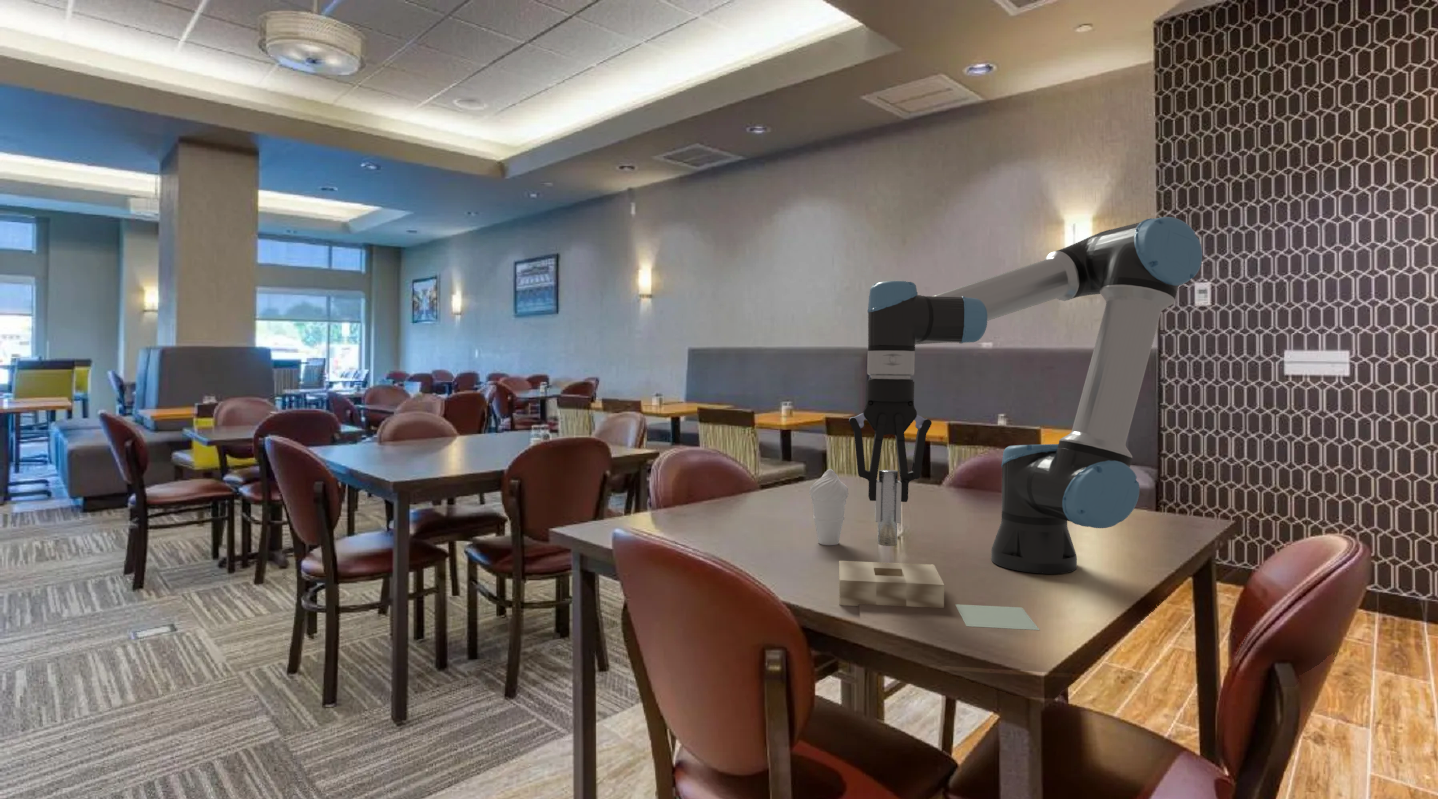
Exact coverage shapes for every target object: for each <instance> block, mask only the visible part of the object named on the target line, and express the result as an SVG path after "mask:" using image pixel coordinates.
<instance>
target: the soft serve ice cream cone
mask: <svg viewBox="0 0 1438 799" xmlns="http://www.w3.org/2000/svg"><path fill="white" fill-rule="evenodd" d="M808 493H809V496H810V498H811V504H812V510H813V511H812V512H813V516H812V519H813V521H814V526H815V531H816V536H817V542H818V544H819V545H823V546H837V545H839V543H840V538H841V533H842V529H843V525H844V524H843V523H844V520H845V509H846V508H845V507H846V504H847V499H848V497H849V496H848V495H849V488H848V486H847V485H846V484H845V483H844V482H842V481H841V479H840V477H839V475H838V474H837V473H836V472H835V470H833V469H832V468H829V469H826V471H824V473H823V474H822V476H821V477H820V478H819V479H817V480H816V481H815V482H814V483H813V484H811V485H810V487H809V492H808Z"/></svg>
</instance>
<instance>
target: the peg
mask: <svg viewBox="0 0 1438 799" xmlns="http://www.w3.org/2000/svg"><path fill="white" fill-rule="evenodd" d="M898 472H899V470H896V469H895V470H894V469H880V470H879V469H878V480H879V482H881V521H880V522H877V526H878V527H877V532H878V533H877V534H878V535H877V536H878V537H877V544H878V545H880V546H885V547H895V546H897V542H898V523H896V483H897V482H898V481H899V480H898V479H899V475H898V474H899V473H898Z"/></svg>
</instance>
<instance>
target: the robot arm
mask: <svg viewBox="0 0 1438 799" xmlns="http://www.w3.org/2000/svg"><path fill="white" fill-rule="evenodd" d="M1202 262H1203V249H1202V244H1201V241H1200V239H1199V238H1198V237H1197V236H1196V231H1195V230H1194V229H1193V228H1192V227H1191V226H1190V225H1189V224H1188V223H1187V222H1185V221H1183V220H1182V219H1179V218H1176V217H1174V216H1173V217H1172V216H1161V217H1156V218H1146V219H1144V220H1141V221H1140V222H1135V223H1131V224H1128V225H1125V226H1119V227H1115V228H1112V229H1108V230H1104V231H1101V232H1099V233H1095V234H1094V235H1090V236H1088V237H1087V238H1085V239H1083V240H1080V241H1077V242H1076V243H1073V244H1071V245H1068V246H1066V247H1063V248H1060V249H1058V250H1055V251H1052V252H1049V253H1048V254H1047V255H1046V256H1045V259H1043V260H1040V261H1038V262H1034V263H1032V264H1031V263H1030V264H1029V265H1026V266H1022V267H1020V268H1016V269H1013V270H1009V271H1006V272H1003V273H1000V274H998V275H994V276H991V277H989V278H985V279H982V280H978V281H975V282H972V283H969V284H966V285H962V286H960V287H956V288H954V289H950V290H947V291H944V292H941V293H938V294H935V295H931V296H930V295H929V296H928V295H921V294H918V291H917V290H918V289H917V285H916V283H914V282H912V281H906V280H889V281H888V280H887V281H886V280H884V281H879V282H875V283H874V284H872V285H871V287H870V289H869V296H868V306H867V314H868V315H867V318H868V319H867V321H868V322H867V326H868V327H867V332H868V333H867V335H868V336H867V338H868V340H867V341H868V342H867V345H868V346H867V357H866V358H867V362H866V366H867V367H866V374H867V375H868V376H870V378H868V380H866V403H865V407H864V409H863V411H862V412H863V413H860V414H858V415H856V416H851V417H849V420H848V422H849V424H850V427H851V428H852V431H853V435H854V436H853V437H854V445H855V447H854V448H855V456H856V468H857V469H856V470H857V474H858V476H859V477H860V478H863V479H866V480H867V482H868V499H869V501H870V502H874V522H875V523H878V522H880V521H881V482H879V479H878V475H879V467H880V459H881V453H882V446H883V441H884V436H885V435H886V436H887V435H893V436H895V443H896V444H895V445H896V452H897V453H896V454H897V462H898V472H899V473H898V474H899V480H898V482H897V483H896V523H897V524H901V521H902V520H901V519H902V517H901V516H902V503H907V502H908V500H909V484H910V482H912V481H914V480H918V479H920V478H921V475H922V474H921V473H922V468H923V461H924V453H925V445H926V438H927V433H928V432H929V430H930V428H931V426H932V420H931V419H929V418H926V417H923V416H921V415H919V414H918V411H917V410H916V408H915V381H914V380H913V379H912V378H911V377H912V376H914V375H915V357H916V354H915V351H916V345H928V344H931V345H932V344H944V343H945V344H946V343H948V344H949V343H951V344H952V343H956V344H957V343H959V344H964V343H965V344H966V343H975V342H978V341H980V340H981V338H982V337H984V335H985V334H986V333H985V332H986V329H987V328H988V322H989V321H991V320H994V319H997V318H1000V317H1003V316H1008V315H1010V314H1012V313H1016V312H1019V311H1023V310H1025V309H1029V308H1032V307H1035V306H1038V305H1041V304H1045V303H1047V302H1050V301H1052V300H1056V299H1057V300H1059V301H1064V302H1065V301H1070V300H1072V299H1076V298H1080V297H1081V298H1082V297H1085V296H1092V295H1093V296H1094V295H1095V296H1096V295H1101V296H1102V298H1103V299H1104V301H1105V303H1106V304H1105V308H1104V311H1103V314H1102V319H1101V323H1100V325H1099V329H1098V333H1097V336H1096V341H1095V344H1094V348H1093V352H1092V355H1091V358H1090V359H1091V360H1090V363H1089V367H1088V369H1087V372H1086V377H1085V379H1084V380H1085V381H1084V385H1083V388H1082V391H1081V396H1080V400H1079V403H1078V407H1077V410H1076V414H1075V418H1074V421H1073V425H1072V428H1071V431H1070V432H1069V434H1066V435H1065V436H1063V437H1061V438H1060V439H1059V440H1058V443H1054V444H1053V443H1047V444H1017V445H1015V444H1014V445H1008V446H1007V447H1005V449H1004V450H1003V453H1002V459H1001V465H1000V466H1001V521H1000V523H999V524H1000V525H999V527H998V530H997V531H996V532H997V533H996V535H995V539H994V540H993V544H992V546H991V551H990V552H991V553H990V556H991V557H990V559H991V562H992V563H994V564H995V565H997V566H999V567H1003V568H1005V569H1008V570H1013V571H1018V572H1023V573H1031V574H1032V573H1033V574H1045V575H1046V574H1047V575H1048V574H1049V575H1053V574H1055V575H1056V574H1057V575H1058V574H1066V573H1071V572H1074V571H1076V570H1077V567H1078V566H1077V564H1078V559H1077V557H1078V556H1077V552H1076V550H1075V546H1074V543H1073V540H1072V537H1071V535H1070V531H1069V527H1068V522H1070V523H1072V524H1074V525H1078V526H1081V527H1085V528H1089V527H1090V528H1094V529H1108V528H1112V527H1115V526H1116V525H1118V524H1119V523H1121V522H1124V521H1125V520H1126V519H1127V518H1128V517H1129V516H1130V515H1131V514H1132V513H1133V511H1134V509H1135V508H1136V506H1137V503H1138V500H1139V498H1140V497H1139V496H1140V483H1139V481H1137V475H1136V473H1135V472H1134V470H1133V469H1132V468H1131V465H1132V460H1133V455H1132V453H1131V452H1130V450H1129V449H1128V448H1127V445H1126V443H1127V440H1128V437H1129V432H1130V429H1131V425H1132V422H1133V418H1134V414H1135V410H1136V407H1137V404H1138V400H1139V396H1140V391H1141V389H1142V384H1143V381H1144V377H1145V373H1146V369H1147V367H1148V366H1147V365H1148V362H1149V359H1150V354H1151V351H1152V347H1153V344H1154V340H1155V336H1156V332H1157V329H1158V325H1159V321H1160V317H1161V314H1162V312H1163V311H1164V310H1165V309H1167V308H1168V307H1170V306H1173V305H1174V304H1175V300H1176V298H1177V294H1178V289H1179V287H1180V286H1183V285H1184V284H1185V283H1188V282H1190V280H1191V279H1194V278H1195V277H1196V275H1197V274H1198V272H1199V271H1200V268H1201V267H1202ZM865 420H866V421H867V422H868V424H869V425H870V427H871V428H872V429H873V431H874V438H873V445H872V450H871V451H872V452H871V458H870V465H869V470H867V469H866V464H865V463H866V462H865V453H864V452H865V451H864V441H863V433H862V429H863V428H864V426H865V423H864V421H865ZM914 421H915V428H916V429H917V432H916V436H915V444H914V450H913V457H912V458H913V459H912V465H911V471H909V469H908V468H909V467H908V460H907V450H906V442H905V441H906V438H905V432H906V431H907V429H909V427H910V426H911V424H913V422H914Z"/></svg>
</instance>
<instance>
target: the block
mask: <svg viewBox="0 0 1438 799" xmlns="http://www.w3.org/2000/svg"><path fill="white" fill-rule="evenodd" d="M838 596H839V598H838V599H839V602H838V604H839V606H846V607H847V606H849V607H851V606H852V607H860V605H875V606H891V607H892V606H893V607H894V606H895V607H911V608H912V607H916V608H917V607H918V608H935V609H938V608H939V609H944V608H945V584H944V581H943V579H942V577H941V576H940V573H939V572H938V570H937V567H936V566H935V564H932V563H931V564H928V563H927V564H926V563H909V562H908V563H907V562H906V563H904V562H879V561H856V560H855V561H853V560H852V561H851V560H839V561H838Z"/></svg>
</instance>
